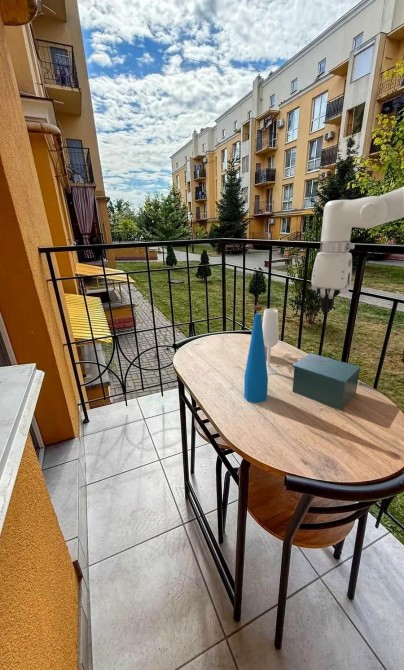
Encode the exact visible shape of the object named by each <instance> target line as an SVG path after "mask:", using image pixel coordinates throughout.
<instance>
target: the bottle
mask: <svg viewBox="0 0 404 670" xmlns="http://www.w3.org/2000/svg"><path fill="white" fill-rule="evenodd" d="M253 308H254V310H255V311H256V312H262V310H263V305H258V304H257V305H254V306H253ZM262 322H263V318H262V314H261V313H255V314H254V319H253V325H252V327H253V330H251V332H252V333H251V335H250V336H251V337H250V344H249V349H248V354H247V360H246V365H245V372H244V383H243V384H244V387H243V388H244V389H243V391H244V392H243V398H244V399H245V400H246V401H247V402H249V403H252V404H262V403H264V402H266V401H267V399H268V385H269V375H267V357H266V356H265V347H264V338H263V329H262Z"/></svg>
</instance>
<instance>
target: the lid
mask: <svg viewBox="0 0 404 670" xmlns="http://www.w3.org/2000/svg"><path fill="white" fill-rule="evenodd" d="M291 368H292V369H294V368H296V369H299V370H302V371H305V372H308V373H311V374H314V375H317V376H320V377H324V378H327V379H330V380H333V381H336V382H339V383H342V384H346V383H347V382H348V381H349V380H350V379H351V378H352V377H353V376H354V375H355V374H356V373H357V372H358V371H359V370H360V371H361V366H360V365H359V366H358V365H356V364H355V365H354V364H352V363H348V362H344V361H341V360H338V359H333V358H330V357H326V356H322V355H319V354H315V353H312V352H310V353H308V354H307V355H305V356H304V357H302V358H301V359H299V360H298V361H296V362H294V363H293V364H292V365H291Z"/></svg>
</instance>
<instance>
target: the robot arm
mask: <svg viewBox="0 0 404 670" xmlns="http://www.w3.org/2000/svg"><path fill="white" fill-rule="evenodd" d="M322 214H323V216H322V223H321V224H322V225H321V236H320V245H319V252H317V254H316V256H315V259H314V263H313V268H312V273H311V286H310V289H311V290H312V291H314V292H317V293H318V294H319V295H320V298H321V305H320V307H321V311H322V312H326V313H327V312H330V311H332V309H333V308H334V303H335V298H336V297H337V296H339V295H343V294H344V295H345V294H348V293H349V291H350V289H349V287H350V286H351V284H352V283H351V282H352V277H353V275H352V274H353V255H352V253H351V252H350V250H354V249H355V247H356V246H355V243H352V242H351V236H352V230H353V229H352V228H359V229H371V228H375V227H378V226H381V225H384V224H387V223H390V222H392V221H396V220H399V219H402V218H404V186H402V187H399V188H396V189H393V190H392V191H389V192H386V193H383V194H381V195H378V196H377V195H370V196H365V197H361V198H356V199H335V200H330V201H328V202H326V203H325V204H324V207H323V213H322Z"/></svg>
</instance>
